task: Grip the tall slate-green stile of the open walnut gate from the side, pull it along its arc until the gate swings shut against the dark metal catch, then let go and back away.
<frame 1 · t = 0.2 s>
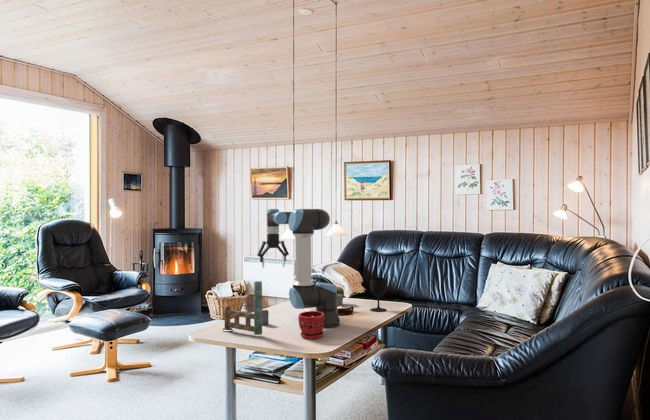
hand: (273, 267, 326), 28 cm above the table, tool pointing down, fingers open, 13 cm apart
wine glass: (378, 310, 326), on the table
gate: (242, 305, 270), point 15 cm above the table, hinge at -60.0°
plant pot: (311, 337, 262), on the table
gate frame: (227, 330, 276), on the table
digital clock: (330, 311, 325), on the table
shell: (335, 305, 344), on the table
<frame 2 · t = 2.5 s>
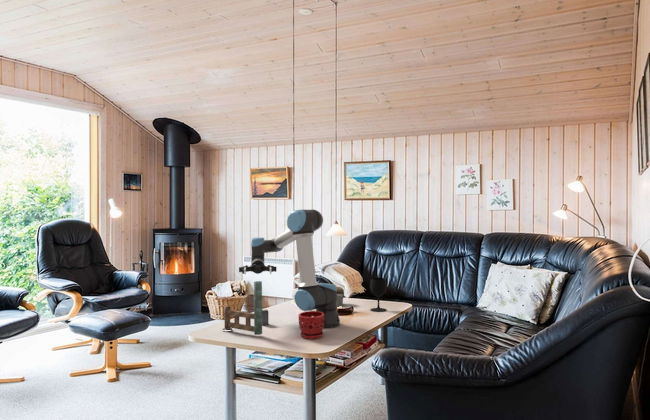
hand: (257, 271, 273), 32 cm above the table, tool horizontal, fingers open, 13 cm apart
nothing on the table moved.
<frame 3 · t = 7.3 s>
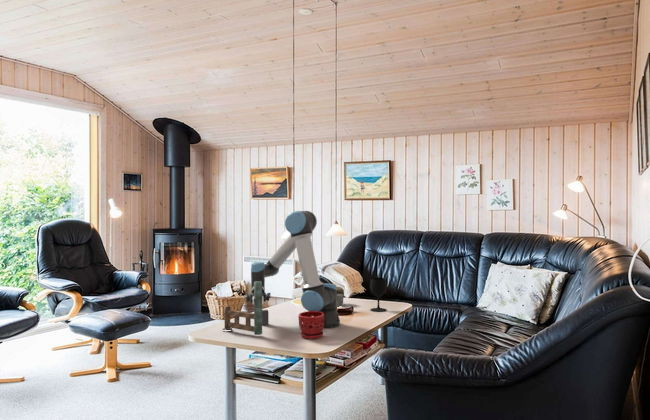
hand: (258, 301, 258), 19 cm above the table, tool horizontal, fingers closed on gate, 4 cm apart
gate: (242, 305, 270), point 15 cm above the table, hinge at -60.0°, touching gripper
everything else where it was.
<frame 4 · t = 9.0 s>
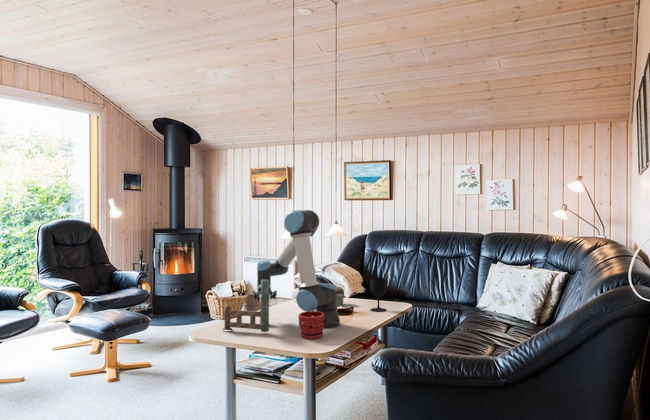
hand: (265, 299, 264), 19 cm above the table, tool horizontal, fingers closed on gate, 4 cm apart
gate: (246, 304, 272), point 15 cm above the table, hinge at -43.3°, touching gripper
everything else where it was.
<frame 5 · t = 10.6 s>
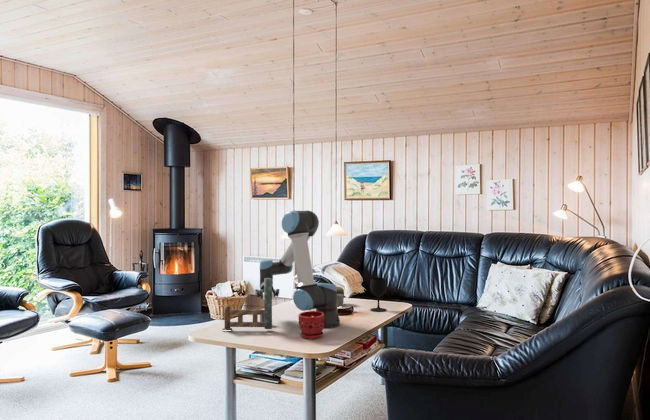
hand: (268, 296, 270), 19 cm above the table, tool horizontal, fingers closed on gate, 4 cm apart
gate: (248, 303, 275), point 15 cm above the table, hinge at -28.3°, touching gripper
everything else where it was.
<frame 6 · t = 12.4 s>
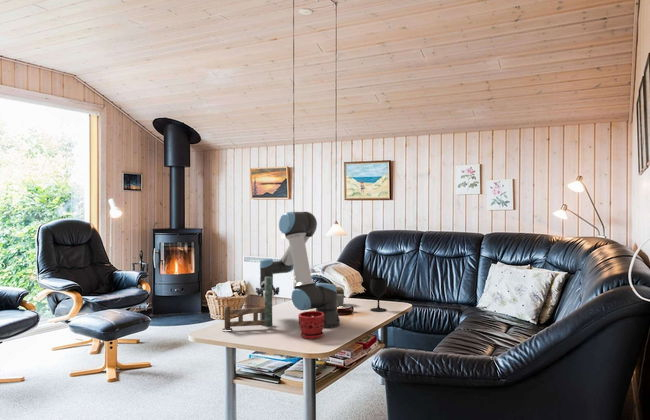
hand: (268, 295, 275), 19 cm above the table, tool horizontal, fingers closed on gate, 4 cm apart
gate: (248, 302, 278), point 15 cm above the table, hinge at -15.1°, touching gripper
everything else where it was.
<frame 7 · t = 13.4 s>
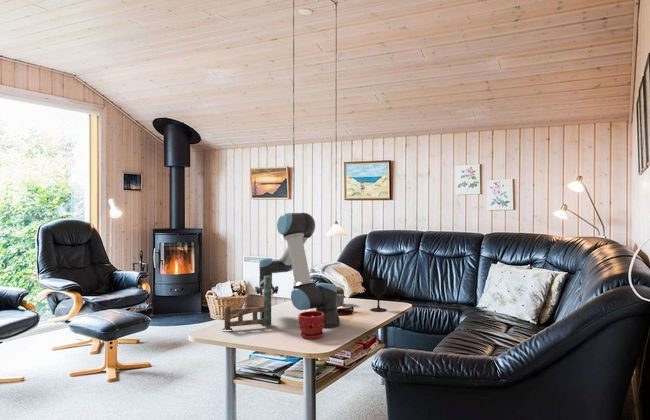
hand: (267, 293, 279), 19 cm above the table, tool horizontal, fingers closed on gate, 4 cm apart
gate: (248, 301, 280), point 15 cm above the table, hinge at -5.8°, touching gripper
everything else where it was.
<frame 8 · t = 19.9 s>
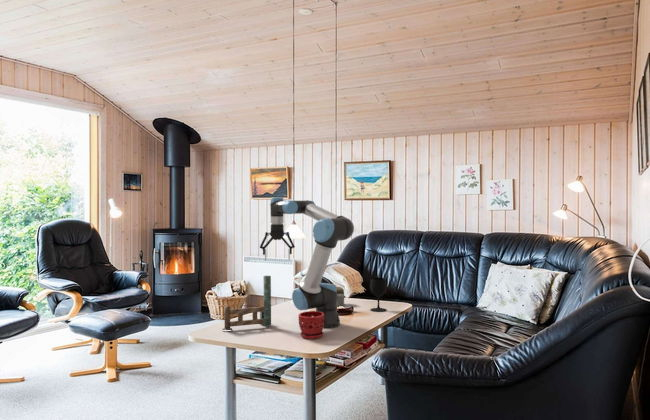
hand: (277, 260, 301), 35 cm above the table, tool pointing down, fingers open, 13 cm apart
gate: (248, 301, 280), point 15 cm above the table, hinge at -4.6°
at the end: gate at -5° (first picture: -60°); the gripper is holding nothing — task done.
